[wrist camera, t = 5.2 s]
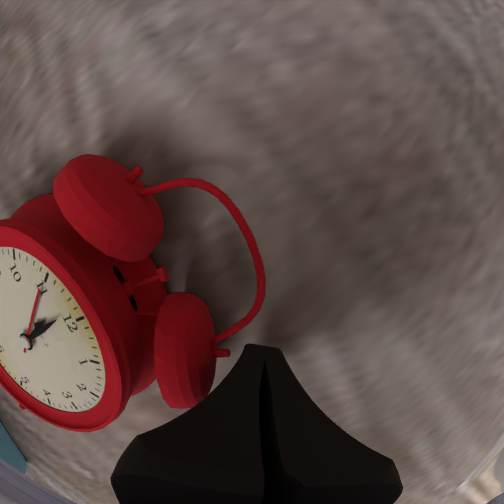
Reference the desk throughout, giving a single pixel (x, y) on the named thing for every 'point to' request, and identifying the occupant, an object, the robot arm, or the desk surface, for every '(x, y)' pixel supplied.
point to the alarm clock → (102, 300)
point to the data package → (11, 451)
